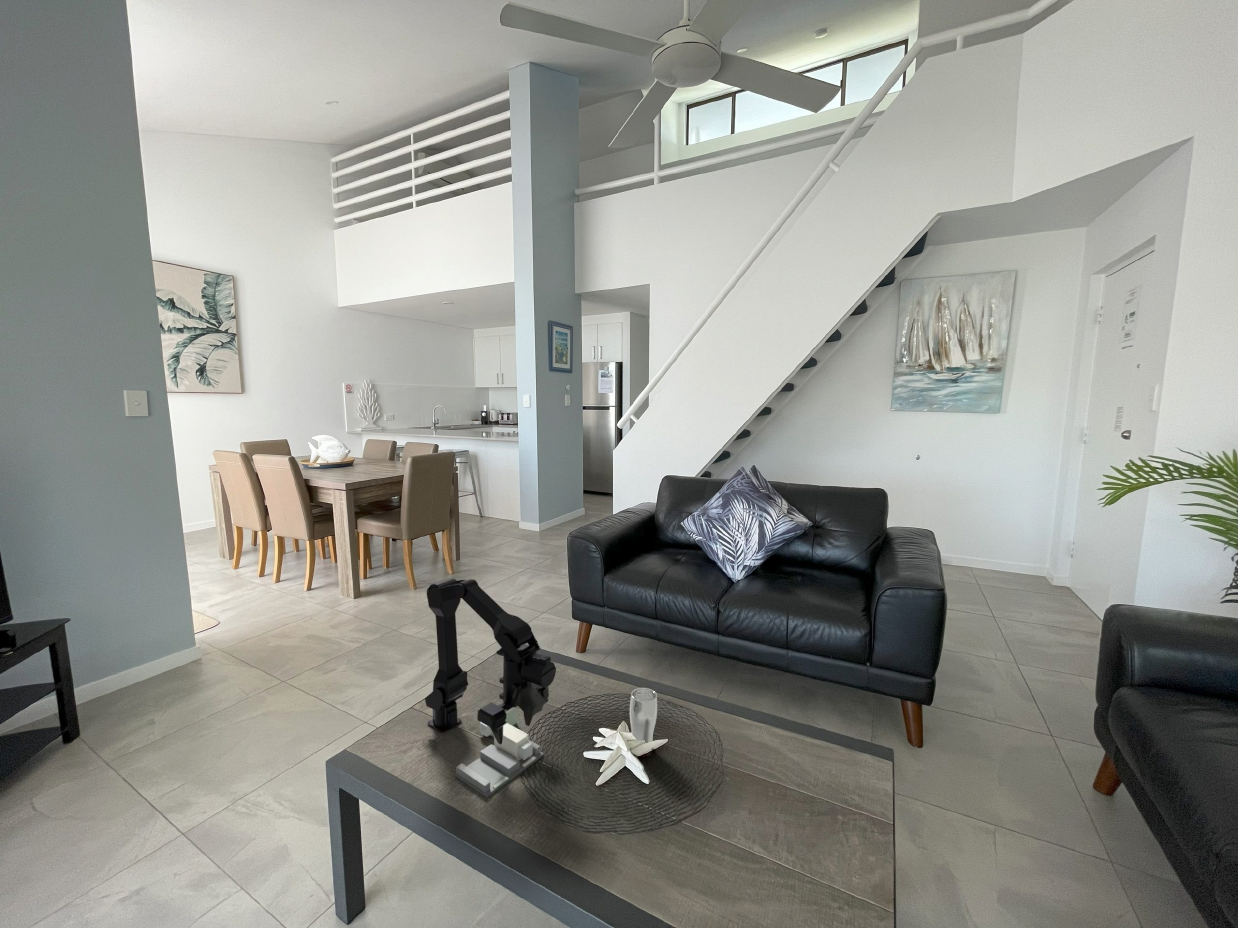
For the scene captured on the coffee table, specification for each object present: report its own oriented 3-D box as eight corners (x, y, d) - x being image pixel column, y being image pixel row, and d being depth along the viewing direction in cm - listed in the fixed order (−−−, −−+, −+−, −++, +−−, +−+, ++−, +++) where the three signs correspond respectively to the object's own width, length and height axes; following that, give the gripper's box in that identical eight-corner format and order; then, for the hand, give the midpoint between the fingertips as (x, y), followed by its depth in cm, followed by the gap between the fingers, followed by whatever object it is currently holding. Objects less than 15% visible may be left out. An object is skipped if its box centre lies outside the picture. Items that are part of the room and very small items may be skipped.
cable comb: (455, 776, 122) (455, 767, 121) (512, 737, 136) (513, 729, 136) (486, 797, 115) (487, 788, 115) (543, 755, 130) (543, 746, 130)
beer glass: (653, 760, 129) (655, 703, 128) (625, 756, 131) (627, 699, 129) (656, 743, 136) (659, 689, 134) (630, 739, 137) (632, 685, 136)
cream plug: (494, 748, 131) (494, 729, 130) (506, 740, 134) (506, 722, 134) (522, 765, 125) (522, 746, 125) (534, 756, 128) (534, 737, 128)
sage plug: (506, 717, 145) (507, 700, 145) (516, 723, 143) (517, 706, 142) (478, 735, 137) (478, 717, 136) (488, 741, 135) (488, 723, 134)
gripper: (509, 702, 115) (508, 768, 117) (565, 669, 130) (563, 728, 132) (476, 685, 122) (475, 748, 123) (533, 656, 137) (532, 712, 138)
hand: (514, 734), depth 129 cm, fingers open, 9 cm apart
